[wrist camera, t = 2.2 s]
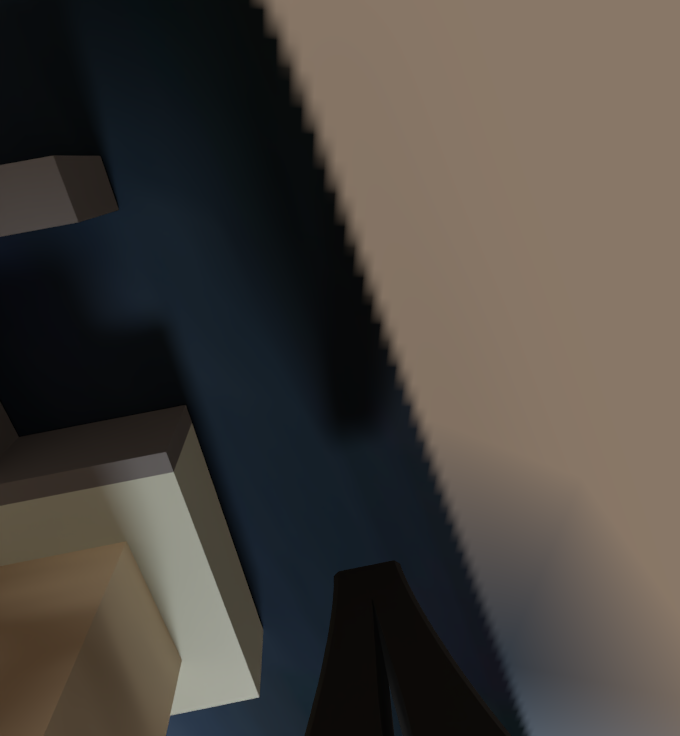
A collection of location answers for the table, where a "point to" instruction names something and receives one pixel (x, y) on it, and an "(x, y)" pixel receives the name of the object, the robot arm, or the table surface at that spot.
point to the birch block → (83, 648)
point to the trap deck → (128, 483)
